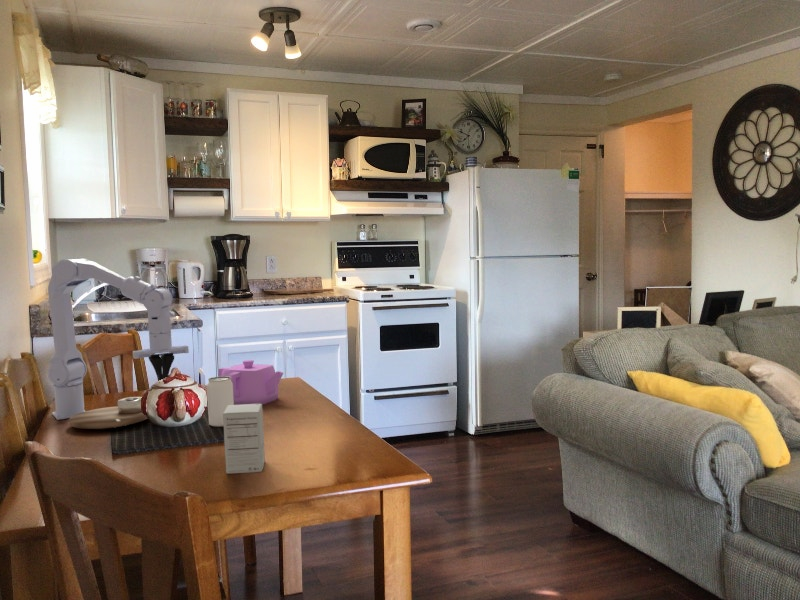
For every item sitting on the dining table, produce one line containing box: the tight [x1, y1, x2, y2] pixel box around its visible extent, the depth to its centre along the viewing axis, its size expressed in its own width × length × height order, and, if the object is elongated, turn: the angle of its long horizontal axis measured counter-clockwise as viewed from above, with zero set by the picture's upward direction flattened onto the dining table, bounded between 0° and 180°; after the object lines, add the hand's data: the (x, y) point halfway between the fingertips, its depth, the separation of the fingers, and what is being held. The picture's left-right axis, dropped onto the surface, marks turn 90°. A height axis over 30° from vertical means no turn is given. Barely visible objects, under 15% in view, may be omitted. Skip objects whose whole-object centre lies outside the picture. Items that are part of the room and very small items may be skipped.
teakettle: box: [217, 359, 284, 406], centre depth 210 cm, size 17×17×12 cm
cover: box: [117, 396, 143, 414], centre depth 191 cm, size 7×7×3 cm
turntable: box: [68, 405, 148, 430], centre depth 188 cm, size 20×20×1 cm
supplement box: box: [223, 404, 266, 474], centre depth 146 cm, size 7×7×13 cm
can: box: [206, 376, 234, 428], centre depth 184 cm, size 6×6×12 cm
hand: (162, 381), depth 195 cm, fingers closed
